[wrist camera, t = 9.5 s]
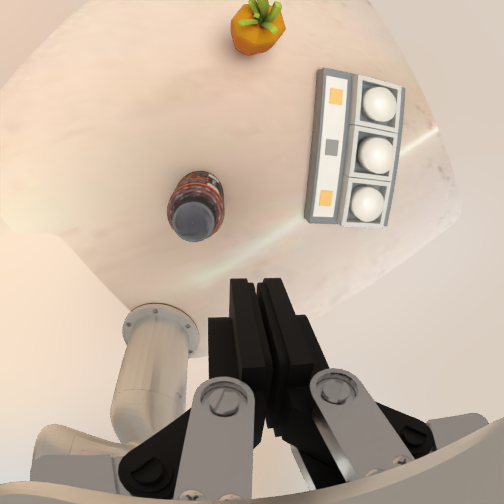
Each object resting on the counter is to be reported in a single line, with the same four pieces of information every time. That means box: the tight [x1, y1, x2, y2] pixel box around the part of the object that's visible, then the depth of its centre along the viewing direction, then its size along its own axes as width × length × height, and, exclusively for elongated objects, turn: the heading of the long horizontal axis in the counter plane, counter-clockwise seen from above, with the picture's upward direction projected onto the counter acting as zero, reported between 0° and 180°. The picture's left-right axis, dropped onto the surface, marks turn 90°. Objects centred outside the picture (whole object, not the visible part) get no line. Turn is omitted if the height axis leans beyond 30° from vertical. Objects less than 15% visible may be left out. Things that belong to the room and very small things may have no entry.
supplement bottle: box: [167, 171, 224, 242], centre depth 32 cm, size 6×6×11 cm
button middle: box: [357, 137, 395, 174], centre depth 33 cm, size 4×4×2 cm
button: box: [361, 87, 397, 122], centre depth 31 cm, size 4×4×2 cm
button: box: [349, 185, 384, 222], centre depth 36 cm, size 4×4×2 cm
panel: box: [304, 68, 405, 228], centre depth 35 cm, size 20×12×4 cm, turn 177°
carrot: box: [231, 0, 286, 55], centre depth 23 cm, size 5×5×15 cm
